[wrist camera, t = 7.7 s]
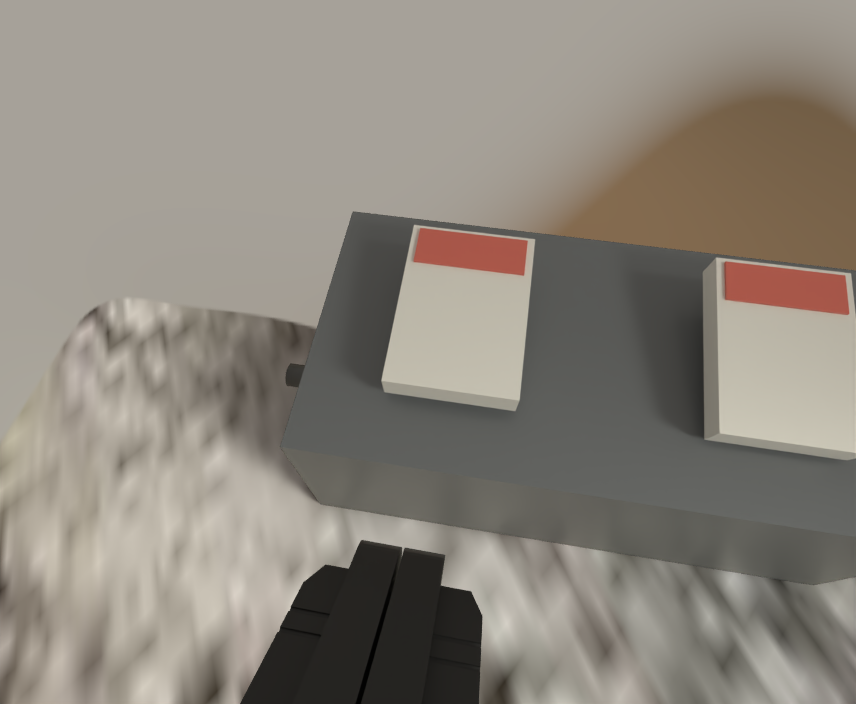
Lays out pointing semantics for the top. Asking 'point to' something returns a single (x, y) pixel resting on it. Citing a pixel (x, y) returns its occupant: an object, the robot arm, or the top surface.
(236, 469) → the top surface
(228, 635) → the top surface
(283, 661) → the robot arm
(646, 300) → the switch box
